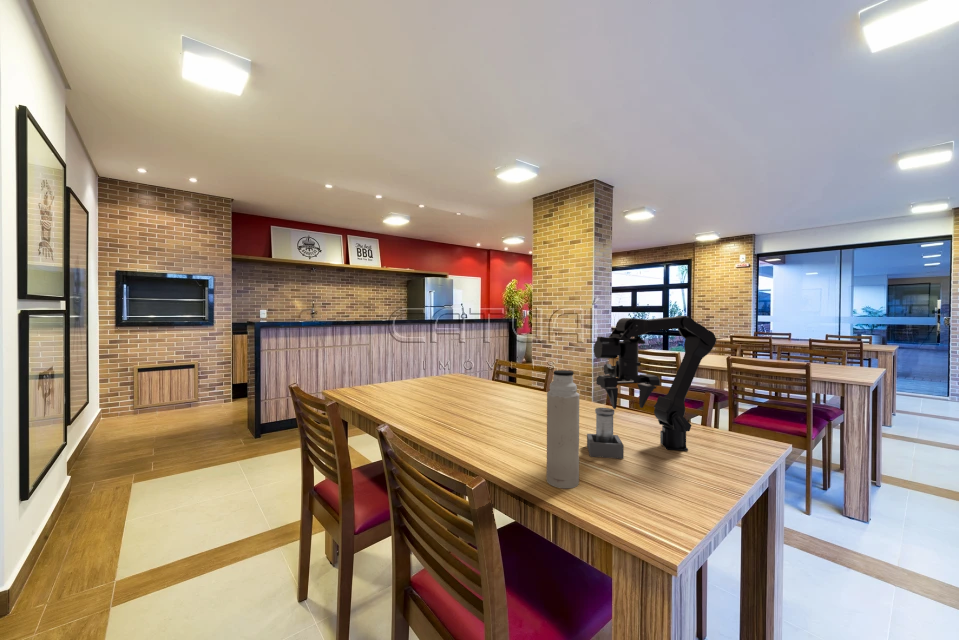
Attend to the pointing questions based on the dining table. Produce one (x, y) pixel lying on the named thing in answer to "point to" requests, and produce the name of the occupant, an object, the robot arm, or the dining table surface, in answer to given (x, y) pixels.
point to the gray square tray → (605, 447)
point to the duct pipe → (604, 425)
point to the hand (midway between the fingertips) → (627, 408)
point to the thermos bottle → (563, 431)
